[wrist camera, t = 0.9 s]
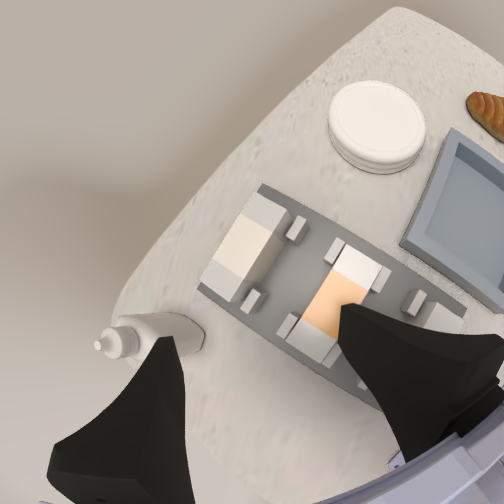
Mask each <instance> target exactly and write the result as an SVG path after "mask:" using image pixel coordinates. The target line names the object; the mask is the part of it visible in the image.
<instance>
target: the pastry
mask: <svg viewBox="0 0 504 504" xmlns="http://www.w3.org/2000/svg"><path fill="white" fill-rule="evenodd" d="M466 103H467V107H468V109H469V112H470V114H471V115H472V117H473V118H474V119H475V120H476V121H477V122H479V123H480V124H481V125H482V126H483V127H484V128H485V129H486V130H487V131H488V132H489V133H490V134H491V135H492V136H493V137H495V138H497V139H498V140H499V141H501V142H502V143H504V97H499V96H496V95H491V94H488V93H483V92H473V93H472V94H471V95H470V96H469V97H468V98H467V101H466Z"/></svg>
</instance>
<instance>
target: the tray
mask: <svg viewBox="0 0 504 504" xmlns="http://www.w3.org/2000/svg"><path fill="white" fill-rule="evenodd" d="M399 246H401V247H402V248H404V249H405V250H407V251H408V252H410V253H411V254H413V255H414V256H416V257H418V258H419V259H421V260H422V261H424V262H425V263H427V264H428V265H429V266H431V267H432V268H434V269H435V270H437V271H438V272H440V273H441V274H443V275H444V276H445V277H447V278H448V279H450V280H451V281H452V282H454V283H455V284H457V285H458V286H459V287H461V288H462V289H463V290H465V291H466V292H468V293H469V294H470V295H472V296H473V297H474V298H476V299H477V300H478V301H480V302H481V303H482V304H483V305H485V306H486V307H487V308H489V309H490V310H491V311H492V312H494V313H496V314H504V164H503V163H502V162H500V161H499V160H498V159H497V158H495V157H494V156H493V155H491V154H490V153H489V152H487V151H486V150H485V149H483V148H482V147H480V146H479V145H478V144H476V143H475V142H473V141H472V140H470V139H469V138H467V137H466V136H464V135H463V134H461V133H460V132H458V131H457V130H455V129H453V128H452V127H451V129H450V131H449V132H448V134H447V136H446V138H445V139H444V141H443V143H442V146H441V149H440V152H439V155H438V157H437V160H436V163H435V165H434V168H433V170H432V173H431V175H430V178H429V180H428V183H427V185H426V188H425V190H424V192H423V195H422V197H421V199H420V202H419V204H418V206H417V208H416V210H415V213H414V215H413V217H412V219H411V221H410V223H409V225H408V227H407V229H406V232H405V234H404V236H403V238H402V240H401V242H400V244H399Z"/></svg>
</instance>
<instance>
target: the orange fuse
mask: <svg viewBox="0 0 504 504" xmlns="http://www.w3.org/2000/svg"><path fill="white" fill-rule="evenodd" d="M381 268H382V265H380V264H378V263H377V262H375V261H374V260H372V259H370V258H369V257H367V256H366V255H364V254H362V253H361V252H359V251H357V250H356V249H354V248H353V247H351V246H349V245H348V244H346V246H345V248H344V249H343V251H342V253H341V255H340V256H339V258H338V260H337V261H336V263H335V265H334V266H333V268H332V270H331V271H330V273H329V275H328V276H327V278H326V279H325V281H324V283H323V284H322V286H321V287H320V289H319V291H318V292H317V294H316V295H315V297H314V299H313V300H312V302H311V303H310V305H309V306H308V308H307V309H306V311H305V312H304V314H303V315H302V317H301V319H300V320H299V322H298V323H297V325H296V326H295V328H294V329H293V330H292V332H291V333H290V335H289V336H288V338H287V339H286V342H287V343H289V344H290V345H292V346H293V347H295V348H296V349H298V350H299V351H301V352H303V353H304V354H306V355H307V356H309V357H310V358H312V359H313V360H315V361H316V362H318V363H320V364H321V362H322V361H323V359H324V358H325V357H326V355H327V354H328V352H329V351H330V350H331V348H332V347H333V345H334V344H335V342H336V341H337V339H338V332H339V322H340V311H341V305H345V304H349V303H356V304H359V305H360V304H361V302H362V301H363V299H364V297H365V296H366V294H367V292H368V291H369V289H370V287H371V286H372V284H373V282H374V280H375V279H376V277H377V275H378V273H379V272H380V270H381Z"/></svg>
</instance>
